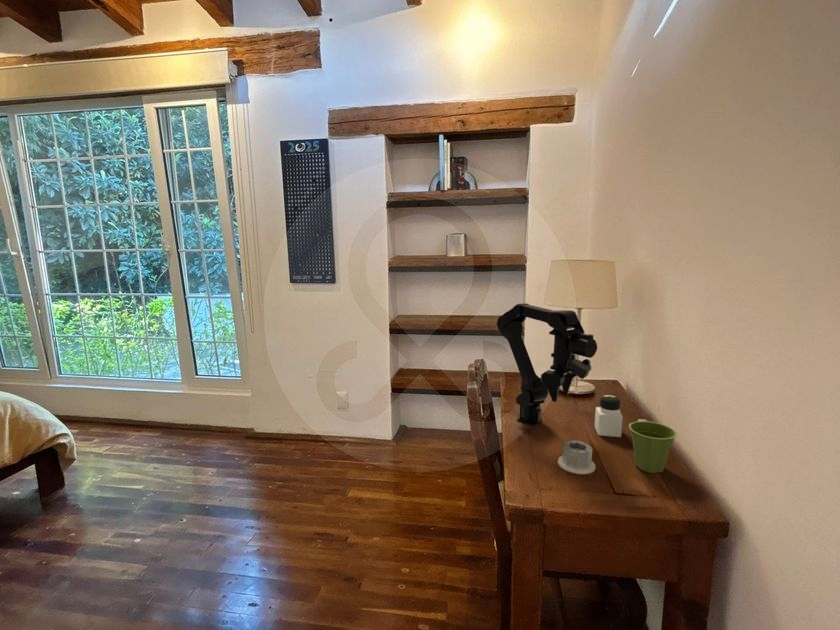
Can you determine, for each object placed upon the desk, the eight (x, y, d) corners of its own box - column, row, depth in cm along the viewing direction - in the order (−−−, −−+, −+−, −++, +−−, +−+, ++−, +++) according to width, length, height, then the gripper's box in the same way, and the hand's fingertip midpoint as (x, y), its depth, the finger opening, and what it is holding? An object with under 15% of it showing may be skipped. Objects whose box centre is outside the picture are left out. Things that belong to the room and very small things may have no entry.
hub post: (552, 466, 125) (553, 451, 124) (565, 453, 133) (566, 438, 132) (588, 478, 119) (589, 462, 118) (600, 463, 127) (601, 448, 126)
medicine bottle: (621, 437, 143) (624, 402, 141) (598, 435, 145) (600, 400, 142) (616, 428, 150) (619, 394, 148) (594, 426, 151) (596, 392, 149)
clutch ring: (569, 470, 122) (570, 453, 121) (558, 457, 129) (559, 441, 128) (594, 468, 123) (596, 452, 122) (582, 456, 130) (584, 440, 129)
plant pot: (665, 459, 129) (669, 422, 127) (678, 480, 118) (683, 441, 116) (621, 454, 132) (624, 418, 130) (630, 475, 121) (634, 436, 119)
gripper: (577, 361, 128) (574, 412, 131) (599, 348, 143) (595, 395, 145) (541, 354, 135) (538, 403, 138) (565, 343, 150) (562, 388, 152)
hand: (560, 397), depth 143 cm, fingers open, 9 cm apart
